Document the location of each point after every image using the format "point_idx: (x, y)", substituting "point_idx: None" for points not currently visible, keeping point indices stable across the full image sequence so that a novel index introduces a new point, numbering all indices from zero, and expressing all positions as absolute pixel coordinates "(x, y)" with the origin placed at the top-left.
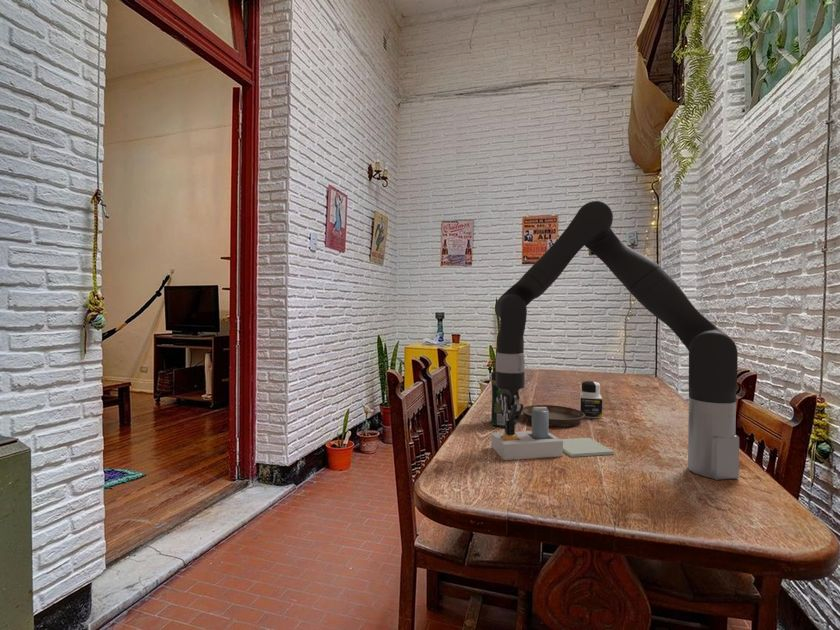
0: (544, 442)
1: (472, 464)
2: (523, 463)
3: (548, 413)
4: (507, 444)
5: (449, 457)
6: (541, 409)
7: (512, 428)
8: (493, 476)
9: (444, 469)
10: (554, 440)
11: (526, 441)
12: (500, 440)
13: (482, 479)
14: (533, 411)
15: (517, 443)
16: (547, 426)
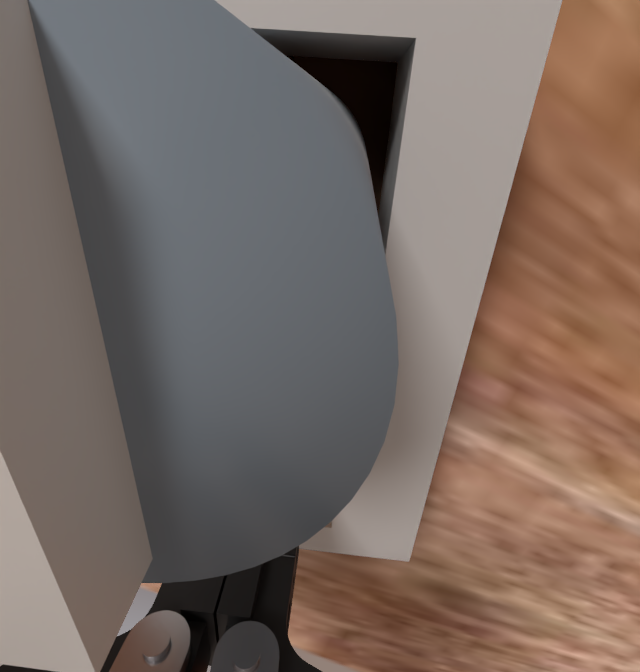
0: (491, 257)
1: (400, 591)
2: (492, 407)
3: (258, 39)
4: (411, 543)
5: (290, 622)
6: (64, 391)
7: (294, 565)
8: (572, 581)
9: (413, 664)
10: (495, 87)
11: (400, 408)
12: (314, 546)
13: (575, 617)
14: (163, 575)
15: (422, 488)
16: (354, 132)
